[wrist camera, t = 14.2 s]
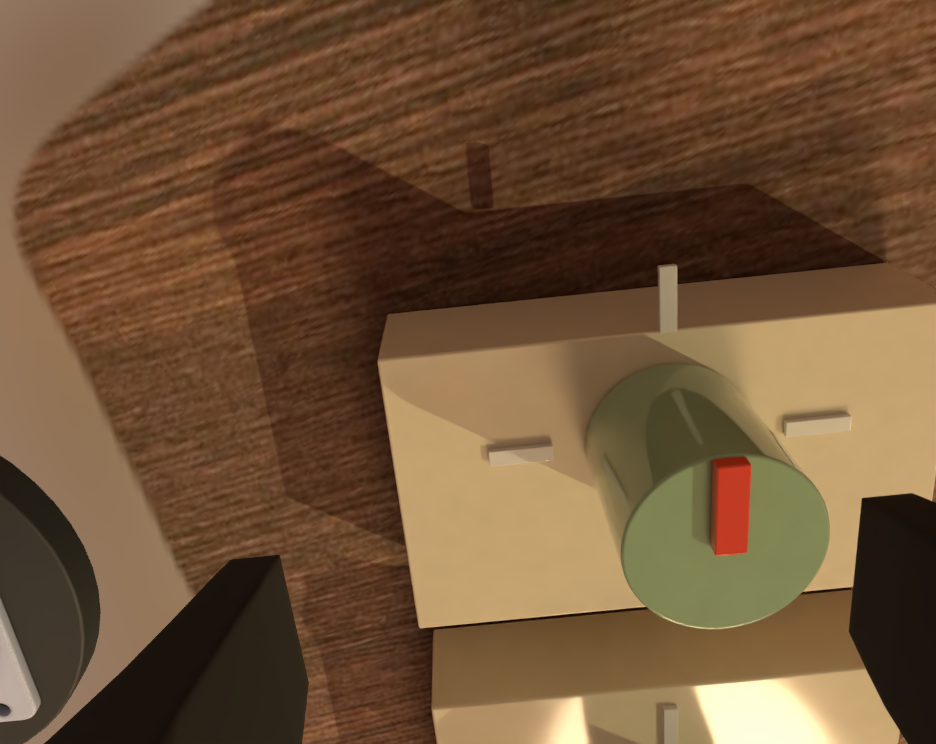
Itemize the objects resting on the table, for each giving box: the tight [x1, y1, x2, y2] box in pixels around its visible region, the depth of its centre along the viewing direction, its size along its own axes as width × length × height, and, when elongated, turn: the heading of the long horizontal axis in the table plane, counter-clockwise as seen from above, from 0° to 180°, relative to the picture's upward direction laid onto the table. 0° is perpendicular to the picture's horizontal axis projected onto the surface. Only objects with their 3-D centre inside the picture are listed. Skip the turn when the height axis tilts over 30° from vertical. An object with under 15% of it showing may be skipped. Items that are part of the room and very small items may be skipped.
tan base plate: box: [377, 263, 936, 628], centre depth 19 cm, size 12×8×3 cm
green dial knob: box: [586, 364, 830, 630], centre depth 16 cm, size 4×4×4 cm
